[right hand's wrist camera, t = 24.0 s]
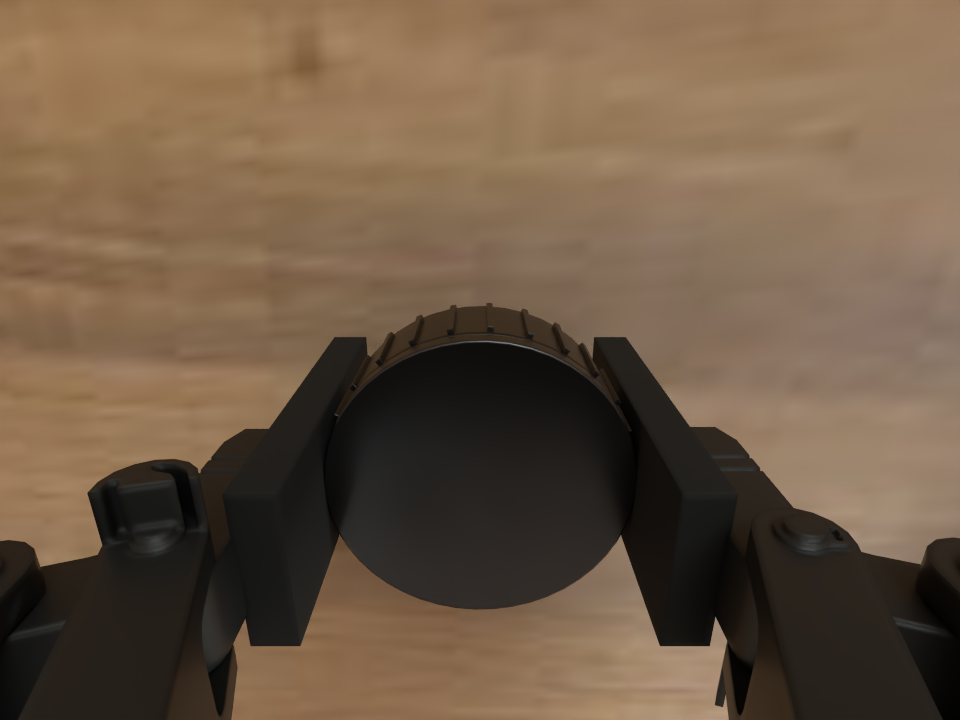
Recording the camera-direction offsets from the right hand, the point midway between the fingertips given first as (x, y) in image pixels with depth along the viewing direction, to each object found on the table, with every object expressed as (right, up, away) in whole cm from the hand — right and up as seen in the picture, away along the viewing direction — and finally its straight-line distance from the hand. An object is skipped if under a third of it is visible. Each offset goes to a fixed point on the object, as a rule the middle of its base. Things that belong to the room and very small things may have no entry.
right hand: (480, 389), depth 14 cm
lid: (0, -1, -4) cm, 4 cm away
